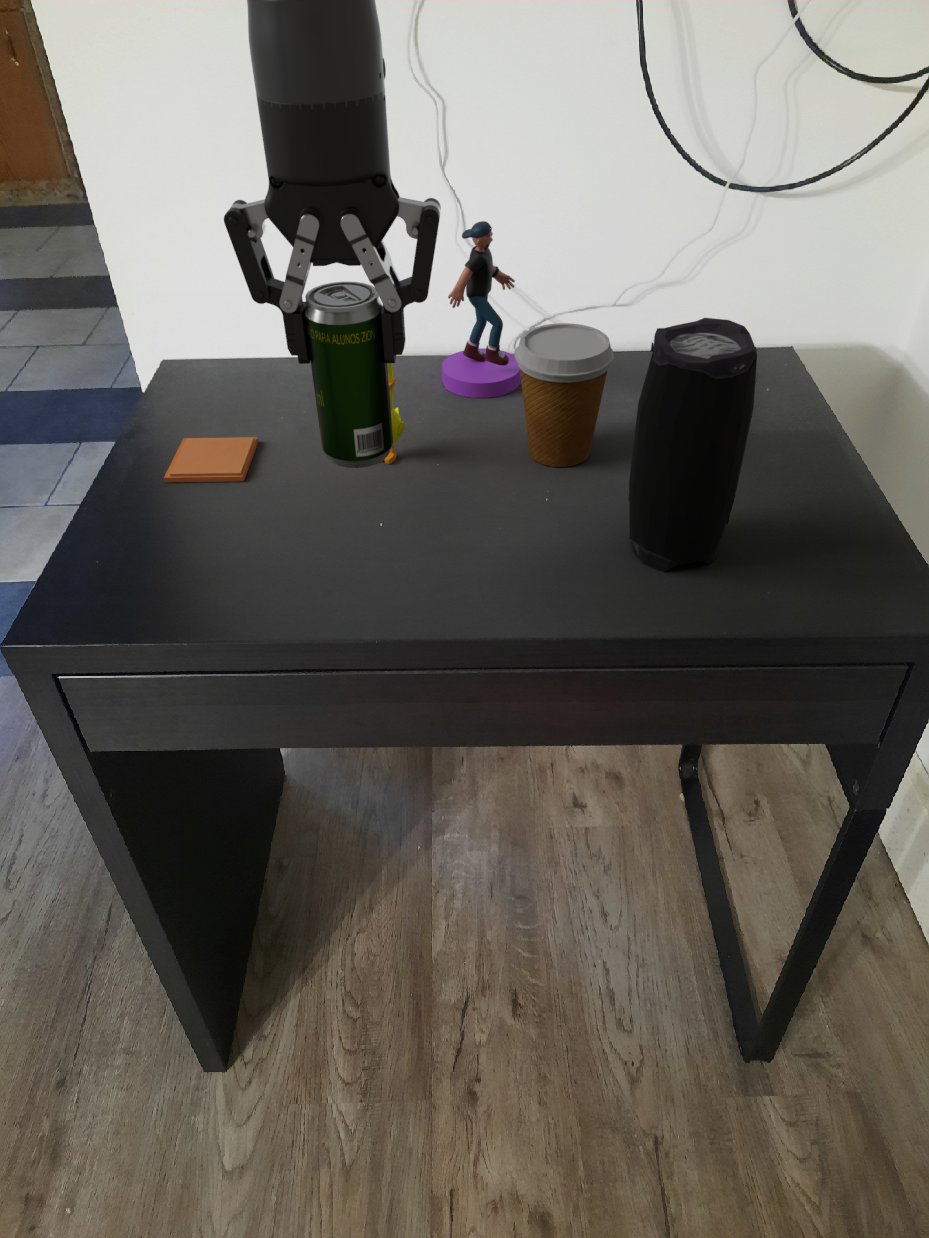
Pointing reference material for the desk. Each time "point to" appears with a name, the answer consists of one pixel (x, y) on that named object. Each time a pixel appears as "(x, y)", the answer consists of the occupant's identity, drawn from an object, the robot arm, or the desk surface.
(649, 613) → the desk surface
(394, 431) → the toy figure
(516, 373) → the figurine
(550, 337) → the disposable coffee cup
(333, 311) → the beer can
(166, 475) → the orange square panel
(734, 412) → the portable speaker
